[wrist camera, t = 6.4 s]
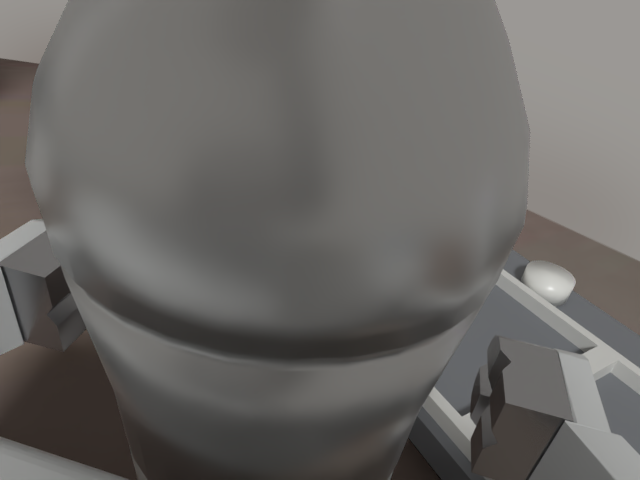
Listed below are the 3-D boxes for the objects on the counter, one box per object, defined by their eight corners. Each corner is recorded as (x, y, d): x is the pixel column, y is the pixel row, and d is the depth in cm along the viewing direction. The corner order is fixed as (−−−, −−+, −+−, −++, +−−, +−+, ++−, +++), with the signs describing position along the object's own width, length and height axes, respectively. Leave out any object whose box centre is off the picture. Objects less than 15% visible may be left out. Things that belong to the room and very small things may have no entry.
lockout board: (237, 221, 33) (237, 185, 31) (397, 190, 39) (404, 160, 38) (717, 828, 12) (788, 807, 10) (885, 543, 18) (942, 505, 17)
